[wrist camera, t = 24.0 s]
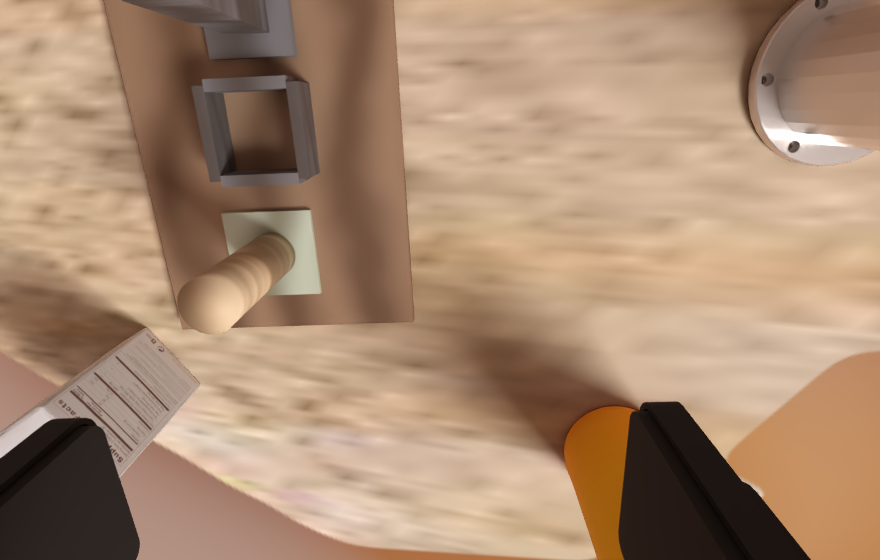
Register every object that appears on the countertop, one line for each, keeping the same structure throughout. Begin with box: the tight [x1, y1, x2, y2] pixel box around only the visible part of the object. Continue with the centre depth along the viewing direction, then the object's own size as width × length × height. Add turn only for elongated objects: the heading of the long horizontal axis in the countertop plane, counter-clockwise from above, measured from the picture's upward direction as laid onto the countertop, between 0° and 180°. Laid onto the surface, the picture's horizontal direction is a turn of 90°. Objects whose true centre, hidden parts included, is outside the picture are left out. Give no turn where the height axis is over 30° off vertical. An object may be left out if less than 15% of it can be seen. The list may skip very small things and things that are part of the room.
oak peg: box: [177, 233, 295, 334], centre depth 34 cm, size 4×4×11 cm
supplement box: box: [0, 328, 200, 478], centre depth 39 cm, size 7×7×13 cm
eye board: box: [104, 0, 414, 329], centre depth 32 cm, size 20×28×14 cm
